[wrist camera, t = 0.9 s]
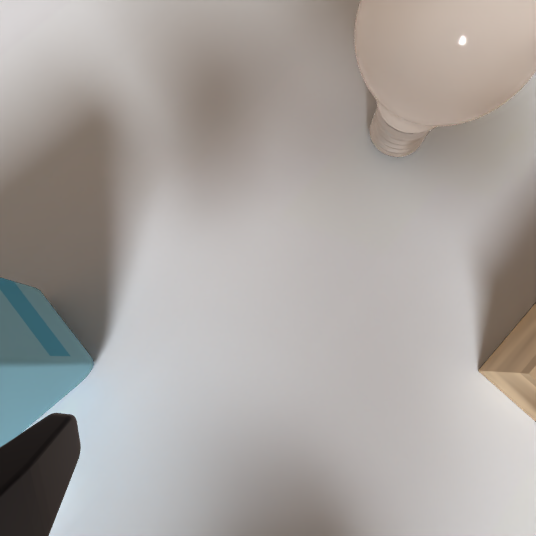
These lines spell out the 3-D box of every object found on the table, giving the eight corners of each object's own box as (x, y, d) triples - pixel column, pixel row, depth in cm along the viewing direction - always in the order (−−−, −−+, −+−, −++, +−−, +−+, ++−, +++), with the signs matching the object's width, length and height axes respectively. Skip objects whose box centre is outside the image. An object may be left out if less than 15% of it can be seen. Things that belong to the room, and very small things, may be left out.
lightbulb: (440, 212, 22) (589, 74, 12) (315, 177, 23) (347, 14, 12) (468, 100, 23) (628, -121, 13) (349, 69, 24) (405, -168, 13)
